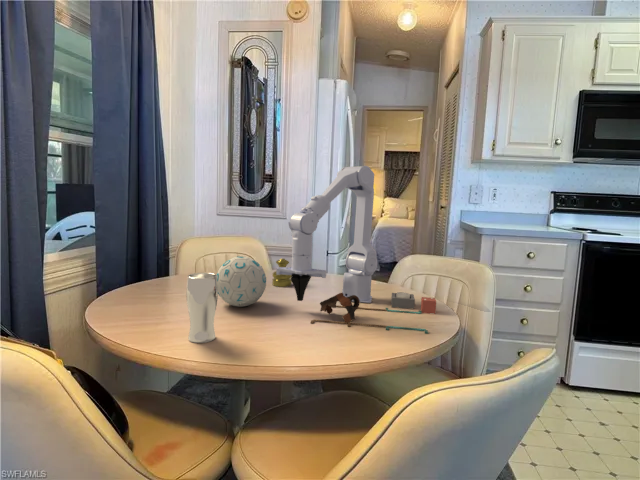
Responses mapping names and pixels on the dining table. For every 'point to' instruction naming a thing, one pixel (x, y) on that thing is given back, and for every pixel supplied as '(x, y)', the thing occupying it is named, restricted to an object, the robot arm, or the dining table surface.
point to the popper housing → (403, 301)
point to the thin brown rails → (372, 324)
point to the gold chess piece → (281, 279)
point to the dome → (402, 295)
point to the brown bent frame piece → (344, 302)
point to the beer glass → (202, 306)
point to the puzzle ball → (241, 281)
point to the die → (428, 305)
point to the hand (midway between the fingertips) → (300, 300)
